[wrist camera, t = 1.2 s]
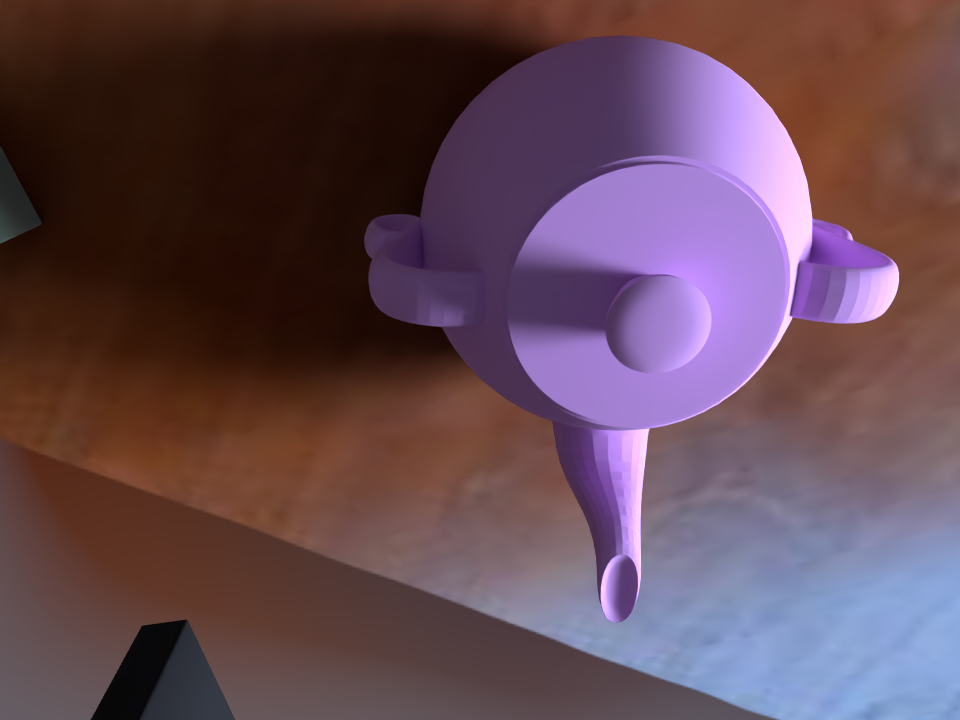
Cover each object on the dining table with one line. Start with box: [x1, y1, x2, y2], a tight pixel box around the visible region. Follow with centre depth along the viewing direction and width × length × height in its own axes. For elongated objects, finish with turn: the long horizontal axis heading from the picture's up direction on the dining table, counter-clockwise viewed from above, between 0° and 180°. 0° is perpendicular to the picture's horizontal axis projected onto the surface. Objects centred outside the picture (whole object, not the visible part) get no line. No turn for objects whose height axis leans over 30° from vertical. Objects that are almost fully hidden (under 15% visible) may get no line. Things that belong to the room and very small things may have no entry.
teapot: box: [364, 36, 899, 623], centre depth 30 cm, size 22×22×14 cm
